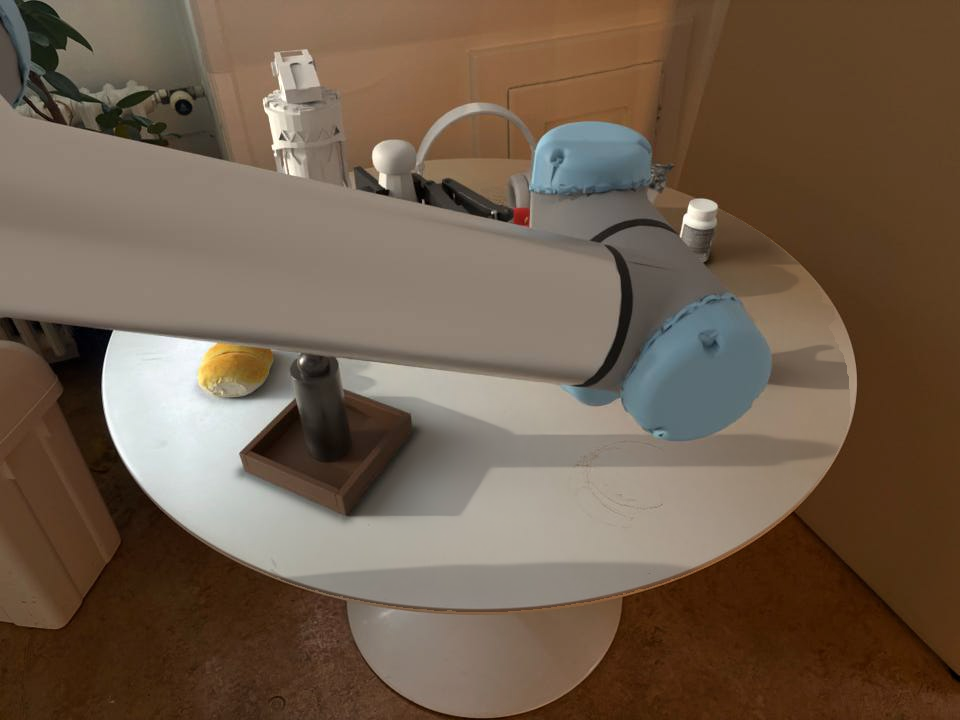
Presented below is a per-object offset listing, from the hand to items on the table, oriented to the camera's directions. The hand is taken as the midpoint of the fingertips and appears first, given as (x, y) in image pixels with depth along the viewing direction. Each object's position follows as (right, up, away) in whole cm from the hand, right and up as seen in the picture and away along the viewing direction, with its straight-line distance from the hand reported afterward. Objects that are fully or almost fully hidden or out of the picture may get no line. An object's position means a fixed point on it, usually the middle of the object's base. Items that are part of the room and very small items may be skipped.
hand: (373, 174), depth 74 cm
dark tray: (-4, -30, -1) cm, 30 cm away
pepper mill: (-4, -29, -1) cm, 29 cm away
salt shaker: (+3, -9, +2) cm, 10 cm away
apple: (+17, -9, +24) cm, 31 cm away
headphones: (+11, +1, +35) cm, 37 cm away
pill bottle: (+43, -5, +29) cm, 52 cm away
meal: (+31, -3, +31) cm, 44 cm away
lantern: (-13, +1, +35) cm, 37 cm away
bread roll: (-17, -22, +8) cm, 29 cm away
